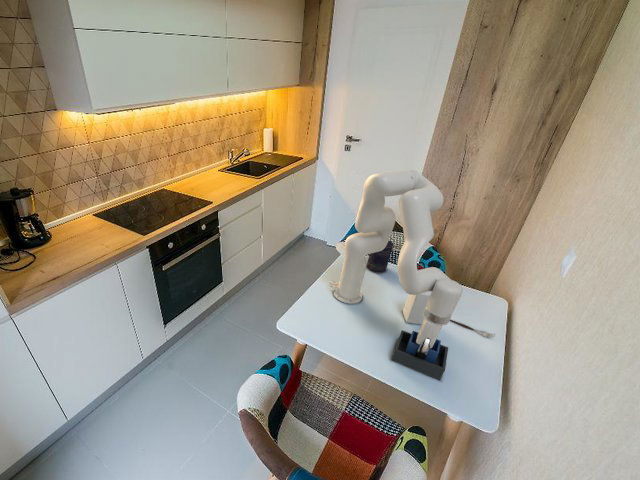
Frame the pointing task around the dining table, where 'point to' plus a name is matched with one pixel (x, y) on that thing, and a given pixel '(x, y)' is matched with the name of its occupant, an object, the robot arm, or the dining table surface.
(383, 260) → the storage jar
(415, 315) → the milk carton
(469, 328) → the fork
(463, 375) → the dining table surface
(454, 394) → the dining table surface
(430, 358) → the nested bin
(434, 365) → the base bin
